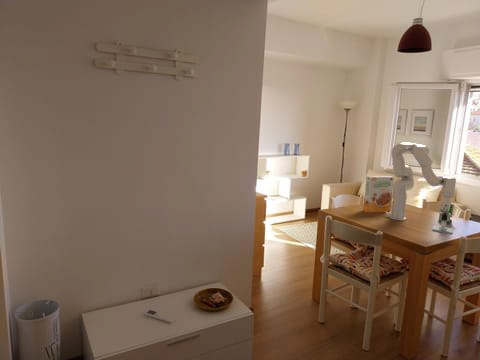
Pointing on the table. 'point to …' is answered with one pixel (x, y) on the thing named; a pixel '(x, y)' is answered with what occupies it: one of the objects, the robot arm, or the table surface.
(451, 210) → the green toy figure
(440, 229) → the shaft block
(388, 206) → the cereal box
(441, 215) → the hub
